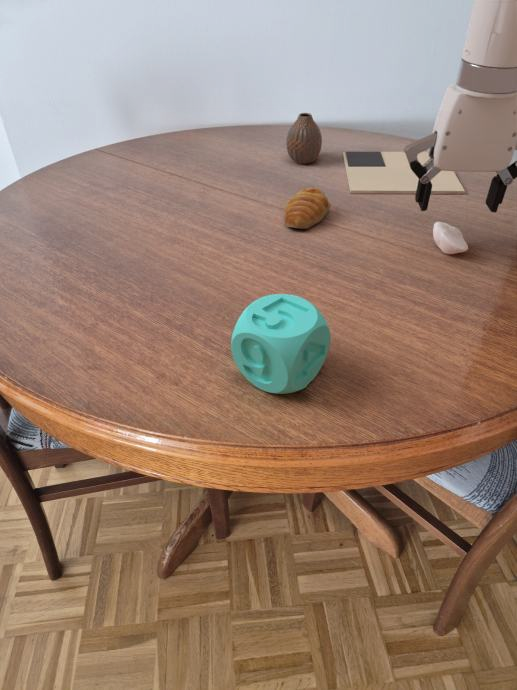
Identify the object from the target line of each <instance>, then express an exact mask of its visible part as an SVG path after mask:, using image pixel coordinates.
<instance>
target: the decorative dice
mask: <svg viewBox="0 0 517 690" xmlns="http://www.w3.org/2000/svg"><path fill="white" fill-rule="evenodd" d="M331 338H332V337H331V331H330V328H329V324H328V322H327V320H326V318H325V316H324V315H323V314H322V312H321V311H320V310H319V309H318V308H317V307H316V306H315V305H314V304H313V303H312V302H310V301H309V300H307V299H306V298H303V297H301V296H298V295H294V294H288V293H274V294H268V295H265V296H262V297H259V298H257V299H256V300H254V301H252V302H251V303H249V305H248V306H246V308H245V309H244V310H243V311H242V313H241V314H240V316H239V318H238V319H237V321H236V323H235V325H234V328H233V331H232V335H231V341H230V350H231V355H232V359H233V361H234V363H235V365H236V368H237V369H238V371H239V372H240V373H241V375H242V376H243V377H244V378H245V380H247V381H248V382H249V383H250V384H251V385H253V386H254V387H256V388H257V389H258V390H260V391H264V392H267V393H271V394H277V395H279V394H280V395H286V394H292V393H296V392H299V391H302V390H303V389H305V388H307V387H308V386H309V385H310V384H311V383H312V382H313V380H314V379H315V378H316V376H317V375H318V374H319V372H320V371H321V369H322V367H323V365H324V363H325V360H326V359H327V356H328V353H329V350H330V345H331V344H330V343H331ZM311 381H312V382H311ZM310 382H311V383H310ZM309 383H310V384H309ZM308 384H309V385H308ZM307 385H308V386H307Z"/></svg>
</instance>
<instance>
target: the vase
mask: <svg viewBox="0 0 517 690" xmlns="http://www.w3.org/2000/svg"><path fill="white" fill-rule="evenodd" d="M322 144H323V137H322V132H321V129H320V128H319V126H318V124H317V122H315V120H314V118H313V115H312V114H311V113H310V112H301V113H299V114H298V116H297V118H296V120H295V121H294V122H293V124H292V125H291V126H290V128H289V130H288V131H287V135H286V145H285V146H286V151H287V154H288V156H289V158H290V159H291V160H292V161H293V162H294V163H296V164H298V165H299V164H301V165H309V164H311V163H313V162H314V161H315V160H316V159H317V158H318V157H319V155H320V154H321V150H322Z"/></svg>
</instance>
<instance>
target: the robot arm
mask: <svg viewBox="0 0 517 690" xmlns="http://www.w3.org/2000/svg"><path fill="white" fill-rule="evenodd" d="M515 150H516V151H517V0H474V1H473V5H472V9H471V14H470V19H469V23H468V28H467V31H466V36H465V40H464V45H463V49H462V55H461V59H460V63H459V67H458V72H457V77H456V81H455V83H450V84H448V86H447V88H446V91H445V93H444V95H443V97H442V100H441V103H440V106H439V109H438V112H437V115H436V118H435V122H434V126H433V129H432V131H431V134H429V135H427V136H424V137H422V138H420V139H418V140H415V141H413V142H411V143H409V144H406V145H405V146H404V149H403V152H405V154H406V157H407V160H408V163H409V165H410V168H411V170H412V171H413V172H414V173H415V175H416V176H417V177H418V178H419V181H418V185H417V190H416V194H414V195H415V196H414V198H415V199H414V200H415V203H417V205H418V206H419V209H420V211H421V212H426V211H428V208H429V204H430V198H431V195H432V194H431V190H432V183H431V179H432V178H434V177H435V176H436V175H437V174H438V173H439V172H440V171H441V170H442V171H454V172H466V173H467V172H469V173H471V172H472V173H496V175H495V176H494V175H493V178H491V182H490V185H489V188H488V192H487V195H486V198H485V205H486V206H487V208H488V210H489V211H490V212H491V213H497V212H498V208H499V205H501V204H503V201H504V198H505V194H506V192H507V188H508V186H510V185H512V183H514V180H515V179H517V160H515V161H514V162H512V159H513V156H514V153H515ZM426 151H427V152H428V155H429V157H430V159H429V160H428V161H427V162H426V163H424V164H423V165H421V164H420V162H419V161H418V158H417V155H418V154H419V153H421V152H426ZM511 162H512V163H511Z"/></svg>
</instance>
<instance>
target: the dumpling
mask: <svg viewBox="0 0 517 690" xmlns="http://www.w3.org/2000/svg"><path fill="white" fill-rule="evenodd" d="M432 236H433V241H434V243H435V245H436V246H437V247H438V248H439V249H440V250H441V253H444V254H446V255H455V254H459V253H464V252H465V253H466V252H467V251H468V250H469V245H468V243H467V242H466V241H465V239H464V235H463V232H462V231H461V229H460V228H458V227H456V226H453V225H450V224H449V223H447V222H443V221H436V222H434V224H433V226H432Z"/></svg>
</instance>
